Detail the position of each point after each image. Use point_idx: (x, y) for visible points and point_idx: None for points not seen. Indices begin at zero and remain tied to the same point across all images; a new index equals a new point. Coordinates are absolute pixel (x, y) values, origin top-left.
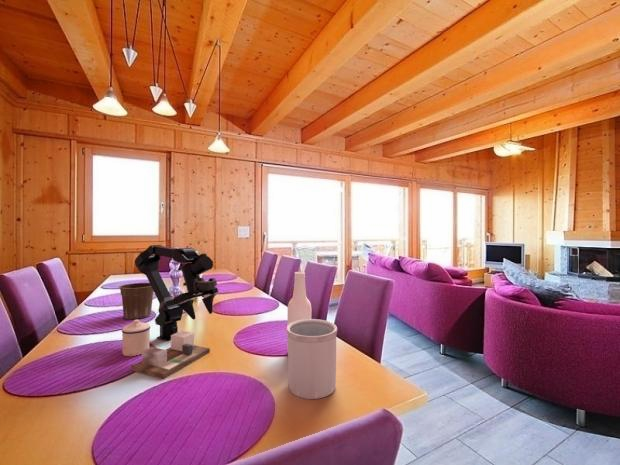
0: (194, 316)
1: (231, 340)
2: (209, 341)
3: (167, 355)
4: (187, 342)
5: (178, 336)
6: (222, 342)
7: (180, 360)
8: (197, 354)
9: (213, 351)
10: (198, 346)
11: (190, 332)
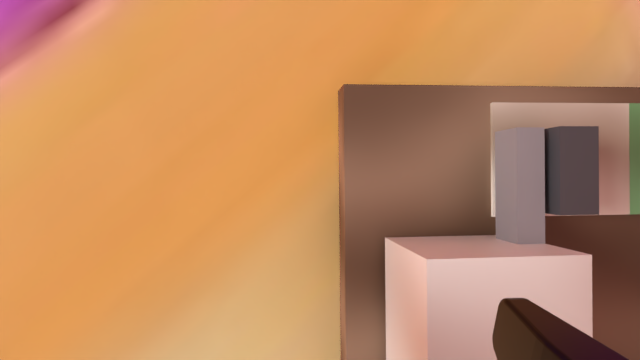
0: (551, 320)
1: (23, 79)
2: (136, 266)
3: (594, 313)
4: (498, 243)
5: None
6: (105, 131)
7: (634, 133)
8: (486, 97)
9: (309, 75)
10: (352, 211)
11: (431, 314)
